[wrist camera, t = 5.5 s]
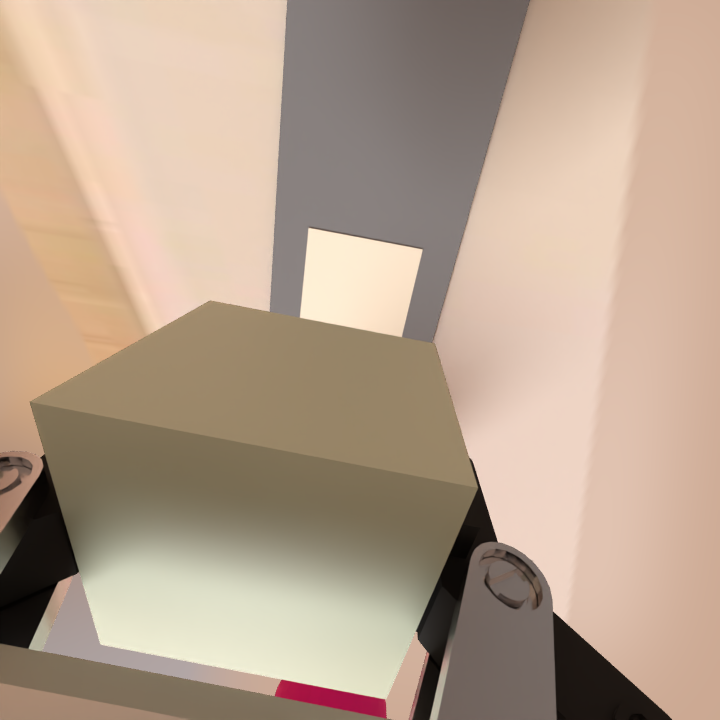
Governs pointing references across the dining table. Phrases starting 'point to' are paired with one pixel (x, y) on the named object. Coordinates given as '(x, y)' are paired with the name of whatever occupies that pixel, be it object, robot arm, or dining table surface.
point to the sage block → (261, 493)
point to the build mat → (383, 153)
